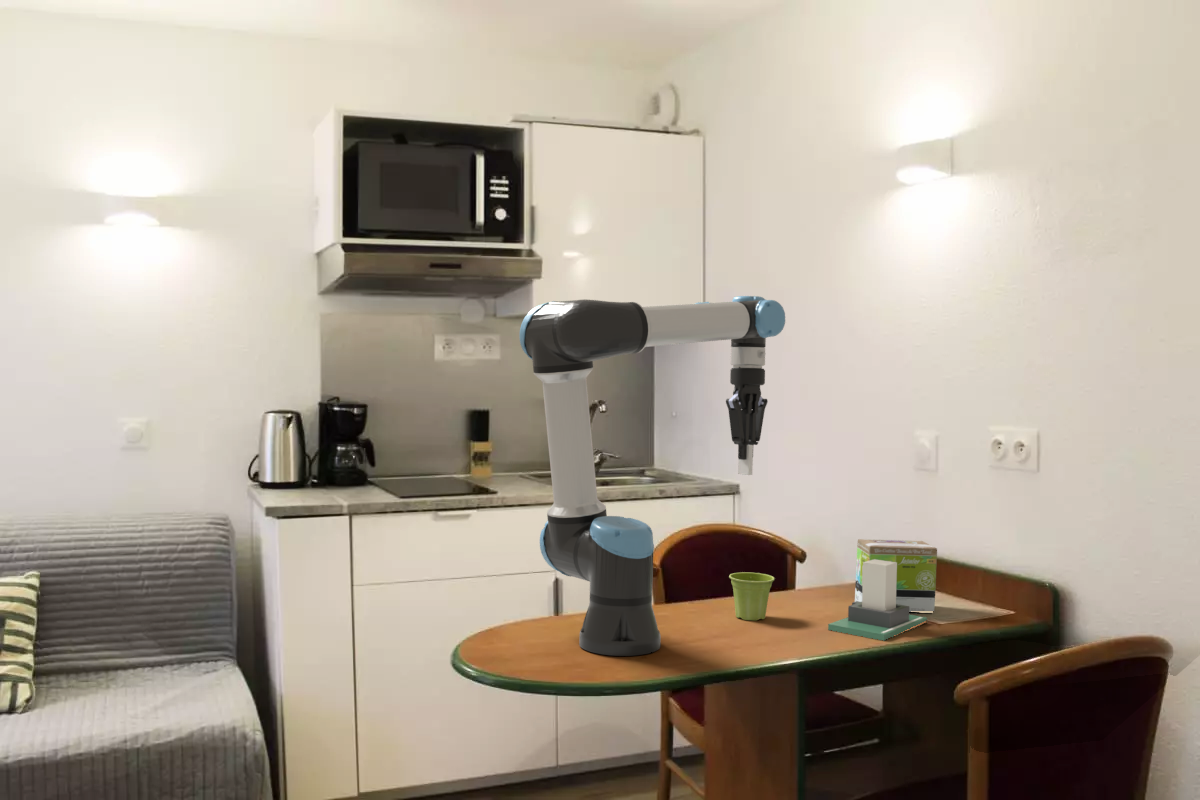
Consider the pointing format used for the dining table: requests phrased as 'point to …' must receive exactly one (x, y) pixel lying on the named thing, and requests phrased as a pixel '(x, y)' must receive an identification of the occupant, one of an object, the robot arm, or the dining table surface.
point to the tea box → (903, 570)
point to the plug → (879, 584)
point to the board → (876, 621)
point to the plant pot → (751, 594)
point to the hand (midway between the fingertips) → (745, 474)
